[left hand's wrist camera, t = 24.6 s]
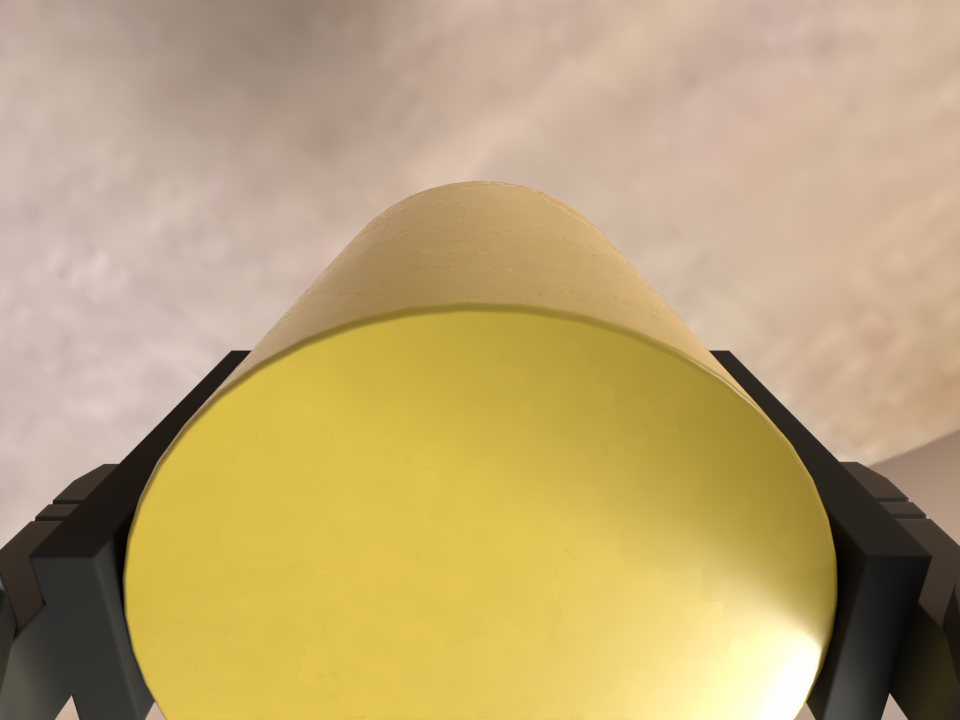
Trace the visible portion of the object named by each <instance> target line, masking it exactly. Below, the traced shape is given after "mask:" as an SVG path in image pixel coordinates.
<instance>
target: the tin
mask: <svg viewBox="0 0 960 720" xmlns="http://www.w3.org/2000/svg"><path fill="white" fill-rule="evenodd" d="M123 594H124V615H125V620H126V624H127V629H128V633H129V638H130V643H131V647H132V651H133V654H134V656H135V659H136V662H137V664H138V667H139V669H140V672H141V674H142V677H143V680H144V682H145V684H146V686H147V688H148V690H149V692H150V693H151V695H152V697H153V699H154V700H155V702H156V704H157V706H158V707H159V709H160V711H161V713H162V714H163V716H164V717H165V719H166V720H794V719H795V717H796V716H797V715H798V713H799V712H800V710H801V709H802V707H803V706H804V704H805V703H806V701H807V699H808V697H809V695H810V693H811V691H812V689H813V687H814V685H815V683H816V680H817V678H818V676H819V674H820V672H821V670H822V668H823V664H824V661H825V658H826V655H827V651H828V648H829V645H830V642H831V638H832V635H833V629H834V622H835V614H836V607H837V600H838V588H837V560H836V553H835V548H834V544H833V539H832V534H831V529H830V524H829V520H828V516H827V514H826V511H825V509H824V506H823V504H822V501H821V499H820V496H819V494H818V491H817V489H816V486H815V484H814V481H813V479H812V477H811V476H810V474H809V472H808V471H807V469H806V467H805V466H804V464H803V463H802V461H801V459H800V458H799V456H798V454H797V453H796V451H795V449H794V448H793V446H792V444H791V443H790V442H789V441H788V439H787V438H786V437H785V436H784V435H783V434H782V432H781V431H780V430H779V429H778V428H777V427H776V425H775V424H774V423H773V422H772V421H771V420H770V418H769V417H768V416H767V415H766V414H765V413H764V411H763V410H762V409H761V408H760V407H759V406H758V405H757V404H756V402H755V401H754V400H753V399H752V398H751V397H750V396H749V395H748V394H747V393H746V391H745V390H744V389H743V388H742V387H741V386H740V385H739V384H738V383H737V382H736V380H735V379H734V378H733V377H732V376H731V375H730V374H729V373H728V372H727V371H726V369H725V368H724V367H723V366H722V365H721V364H720V363H719V362H718V361H717V360H716V358H715V357H714V356H713V355H712V354H711V353H710V352H709V351H708V350H707V349H706V347H705V346H704V345H703V344H702V343H701V342H700V341H699V340H698V339H697V338H696V336H695V335H694V334H693V333H692V332H691V331H690V330H689V329H688V328H687V327H686V325H685V324H684V323H683V322H682V321H681V320H680V319H679V318H678V317H677V316H676V314H675V313H674V312H673V311H672V310H671V309H670V308H669V307H668V306H667V305H666V303H665V302H664V301H663V300H662V299H661V298H660V297H659V296H658V295H657V294H656V292H655V291H654V290H653V289H652V288H651V287H650V286H649V285H648V284H647V282H646V281H645V280H644V279H643V278H642V277H641V276H640V275H639V274H638V273H637V271H636V270H635V269H634V268H633V267H632V266H631V265H630V264H629V263H628V262H627V260H626V259H625V258H624V257H623V256H622V255H621V254H620V253H619V252H618V251H617V249H616V248H615V247H614V246H613V245H612V244H611V243H610V242H609V241H608V240H607V238H606V237H605V236H604V235H603V234H602V233H601V232H600V231H599V230H598V229H597V228H596V227H595V226H594V225H593V224H592V223H590V222H589V221H588V220H587V219H586V218H585V217H584V216H582V215H581V214H580V213H578V212H577V211H575V210H573V209H572V208H570V207H569V206H567V205H566V204H564V203H563V202H561V201H559V200H556V199H554V198H552V197H550V196H548V195H546V194H544V193H541V192H538V191H535V190H532V189H529V188H525V187H522V186H518V185H512V184H506V183H500V182H481V181H473V182H463V183H453V184H448V185H444V186H440V187H435V188H431V189H428V190H425V191H423V192H420V193H418V194H415V195H413V196H410V197H408V198H406V199H404V200H402V201H400V202H399V203H397V204H395V205H393V206H392V207H390V208H388V209H387V210H385V211H384V212H383V213H381V214H380V215H379V216H377V217H376V218H375V219H373V220H372V221H371V222H370V223H369V224H368V225H367V226H366V227H365V228H364V229H363V230H362V231H361V232H360V233H359V234H358V235H357V236H356V237H355V238H354V239H353V240H352V241H351V242H350V243H349V245H348V246H347V247H346V248H345V249H344V250H343V251H342V252H341V253H340V254H339V256H338V257H337V258H336V259H335V260H334V261H333V262H332V263H331V264H330V265H329V266H328V268H327V269H326V270H325V271H324V272H323V273H322V274H321V275H320V276H319V277H318V279H317V280H316V281H315V282H314V283H313V284H312V285H311V286H310V287H309V288H308V290H307V291H306V292H305V293H304V294H303V295H302V296H301V297H300V298H299V299H298V301H297V302H296V303H295V304H294V305H293V306H292V307H291V308H290V309H289V310H288V312H287V313H286V314H285V315H284V316H283V317H282V318H281V319H280V320H279V321H278V322H277V324H276V325H275V326H274V327H273V328H272V329H271V330H270V331H269V332H268V333H267V335H266V336H265V337H264V338H263V339H262V340H261V341H260V342H259V343H258V344H257V346H256V347H255V348H254V349H253V350H252V351H251V352H250V353H249V354H248V355H247V357H246V358H245V359H244V360H243V361H242V362H241V363H240V364H239V365H238V366H237V368H236V369H235V370H234V371H233V372H232V373H231V374H230V375H229V376H228V377H227V379H226V380H225V381H224V382H223V383H222V384H221V385H220V386H219V387H218V388H217V389H216V391H215V392H214V393H213V394H212V395H211V396H210V397H209V398H208V399H207V400H206V402H205V403H204V404H203V405H202V406H201V407H200V408H199V409H198V410H197V411H196V413H195V414H194V415H193V416H192V417H191V418H190V419H189V420H188V421H187V422H186V424H185V425H184V426H183V427H182V429H181V430H180V431H179V433H178V434H177V436H176V437H175V438H174V440H173V441H172V442H171V444H170V445H169V446H168V448H167V449H166V451H165V452H164V453H163V455H162V456H161V457H160V459H159V460H158V462H157V464H156V466H155V468H154V470H153V472H152V474H151V476H150V478H149V480H148V482H147V484H146V486H145V488H144V490H143V492H142V494H141V496H140V498H139V501H138V504H137V508H136V511H135V514H134V517H133V521H132V524H131V527H130V530H129V534H128V539H127V547H126V555H125V563H124V571H123Z"/></svg>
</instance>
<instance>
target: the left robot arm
mask: <svg viewBox="0 0 960 720" xmlns="http://www.w3.org/2000/svg"><path fill="white" fill-rule="evenodd" d="M250 352H251V351H231V352H230V353H229V354H228V355H227V356H226V357H225V358H224V359H223V360H222V361H221V362H220V363H219V364H218V365H217V366H216V367H215V368H214V369H213V370H212V371H211V372H210V373H209V374H208V375H207V376H206V377H205V378H204V379H203V380H202V381H201V382H200V383H199V384H198V385H197V386H196V387H195V388H194V389H193V390H192V391H191V392H190V393H189V394H188V395H187V396H186V397H185V398H184V399H183V400H182V401H181V402H180V403H179V404H178V405H177V406H176V407H175V408H174V409H173V410H172V411H171V412H170V413H169V414H168V415H167V416H166V417H165V418H164V419H163V420H162V421H161V422H160V423H159V424H158V425H157V426H156V427H155V428H154V429H153V430H152V431H151V432H150V433H149V434H148V435H147V436H146V437H145V438H144V439H143V440H142V441H141V442H140V443H139V444H138V445H137V447H136V448H135V449H134V450H133V451H132V452H131V453H130V454H129V455H128V456H127V457H126V458H125V459H124V460H123V461H122V462H121V463H120V464H103V465H101V466H100V467H98V468H96V469H94V470H92V471H91V472H89V473H87V474H85V475H83V476H82V477H80V478H78V479H76V480H74V481H73V482H72V483H71V484H70V485H69V486H68V487H67V488H66V489H65V490H64V491H63V492H61V493H60V494H59V495H58V496H57V497H56V498H55V499H54V500H53V504H49V505H48V506H47V507H45V508H44V509H43V510H42V511H41V512H40V513H39V514H38V515H37V516H36V517H35V521H31V522H29V523H28V524H27V525H26V526H25V527H24V528H23V529H22V530H21V531H20V532H19V533H18V534H17V535H16V536H15V537H13V538H12V539H11V540H10V541H9V542H8V543H7V544H6V545H5V546H4V547H3V548H2V549H1V550H0V720H55V718H56V717H57V716H58V714H59V713H60V711H61V710H62V708H63V707H64V705H65V704H66V702H67V701H68V700H69V698H70V697H71V695H72V697H73V701H74V704H75V707H76V710H77V713H78V716H79V720H145V718H146V716H147V715H148V713H149V711H150V709H151V707H152V705H153V704H154V702H155V700H154V699H153V697H152V695H151V693H150V692H149V690H148V688H147V686H146V684H145V682H144V680H143V677H142V674H141V672H140V669H139V667H138V664H137V662H136V659H135V656H134V654H133V651H132V647H131V643H130V638H129V633H128V629H127V624H126V620H125V615H124V594H123V571H124V563H125V555H126V547H127V539H128V534H129V530H130V527H131V524H132V521H133V517H134V514H135V511H136V508H137V504H138V501H139V498H140V496H141V494H142V492H143V490H144V488H145V486H146V484H147V482H148V480H149V478H150V476H151V474H152V472H153V470H154V468H155V466H156V464H157V462H158V460H159V459H160V457H161V456H162V455H163V453H164V452H165V451H166V449H167V448H168V446H169V445H170V444H171V442H172V441H173V440H174V438H175V437H176V436H177V434H178V433H179V431H180V430H181V429H182V427H183V426H184V425H185V424H186V422H187V421H188V420H189V419H190V418H191V417H192V416H193V415H194V414H195V413H196V411H197V410H198V409H199V408H200V407H201V406H202V405H203V404H204V403H205V402H206V400H207V399H208V398H209V397H210V396H211V395H212V394H213V393H214V392H215V391H216V389H217V388H218V387H219V386H220V385H221V384H222V383H223V382H224V381H225V380H226V379H227V377H228V376H229V375H230V374H231V373H232V372H233V371H234V370H235V369H236V368H237V366H238V365H239V364H240V363H241V362H242V361H243V360H244V359H245V358H246V357H247V355H248V354H249V353H250ZM709 352H710V353H711V354H712V355H713V356H714V357H715V358H716V360H717V361H718V362H719V363H720V364H721V365H722V366H723V367H724V368H725V369H726V371H727V372H728V373H729V374H730V375H731V376H732V377H733V378H734V379H735V380H736V382H737V383H738V384H739V385H740V386H741V387H742V388H743V389H744V390H745V391H746V393H747V394H748V395H749V396H750V397H751V398H752V399H753V400H754V401H755V402H756V404H757V405H758V406H759V407H760V408H761V409H762V410H763V411H764V413H765V414H766V415H767V416H768V417H769V418H770V420H771V421H772V422H773V423H774V424H775V425H776V427H777V428H778V429H779V430H780V431H781V432H782V434H783V435H784V436H785V437H786V438H787V439H788V441H789V442H790V443H791V444H792V446H793V448H794V449H795V451H796V453H797V454H798V456H799V458H800V459H801V461H802V463H803V464H804V466H805V467H806V469H807V471H808V472H809V474H810V476H811V477H812V479H813V481H814V484H815V486H816V489H817V491H818V494H819V496H820V499H821V501H822V504H823V506H824V509H825V511H826V514H827V516H828V520H829V524H830V529H831V534H832V539H833V544H834V548H835V553H836V560H837V588H838V600H837V607H836V614H835V622H834V629H833V635H832V638H831V642H830V645H829V648H828V651H827V655H826V658H825V661H824V664H823V668H822V670H821V672H820V674H819V676H818V678H817V680H816V683H815V685H814V687H813V689H812V691H811V693H810V695H809V697H808V699H807V701H806V703H807V705H808V706H809V708H810V710H811V712H812V714H813V716H814V717H815V719H816V720H881V718H882V715H883V712H884V708H885V705H886V702H887V699H888V696H889V693H890V694H891V695H892V697H893V698H894V700H895V701H896V703H897V704H898V706H899V707H900V708H901V710H902V711H903V713H904V714H905V716H906V717H907V718H908V720H960V546H959V545H958V544H957V543H956V542H955V541H954V540H953V539H952V538H950V537H949V536H948V535H947V534H946V533H945V532H944V531H943V530H942V529H941V528H940V527H939V526H938V525H936V524H935V523H934V522H933V521H932V520H931V519H926V514H925V513H924V512H923V511H921V510H920V509H919V508H918V507H917V506H916V505H915V504H914V503H913V502H909V501H908V498H907V497H906V496H905V495H904V494H903V493H902V492H901V491H900V490H899V489H898V488H897V487H896V486H895V485H894V484H892V483H891V482H890V481H889V480H888V479H887V478H885V477H883V476H882V475H880V474H878V473H876V472H874V471H872V470H871V469H869V468H867V467H865V466H863V465H862V464H860V463H858V462H839V461H838V460H837V459H836V458H835V457H834V456H833V455H832V454H831V453H830V452H829V451H828V450H827V449H826V448H825V447H824V446H823V445H822V444H821V443H820V442H819V441H818V440H817V439H816V438H815V437H814V436H813V435H812V434H811V433H810V432H809V431H808V430H807V429H806V428H805V427H804V426H803V425H802V424H801V423H800V422H799V421H798V420H797V419H796V418H795V417H794V416H793V415H792V414H791V413H790V412H789V411H788V410H787V409H786V408H785V407H784V406H783V405H782V404H781V403H780V402H779V401H778V400H777V399H776V398H775V397H774V396H773V395H772V394H771V393H770V392H769V391H768V390H767V389H766V388H765V387H764V386H763V385H762V383H761V382H760V381H759V380H758V379H757V378H756V377H755V376H754V375H753V374H752V373H751V372H750V371H749V370H748V369H747V368H746V367H745V366H744V365H743V364H742V363H741V362H740V361H739V360H738V359H737V358H736V357H735V356H734V355H733V354H732V353H731V352H730V351H709Z"/></svg>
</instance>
